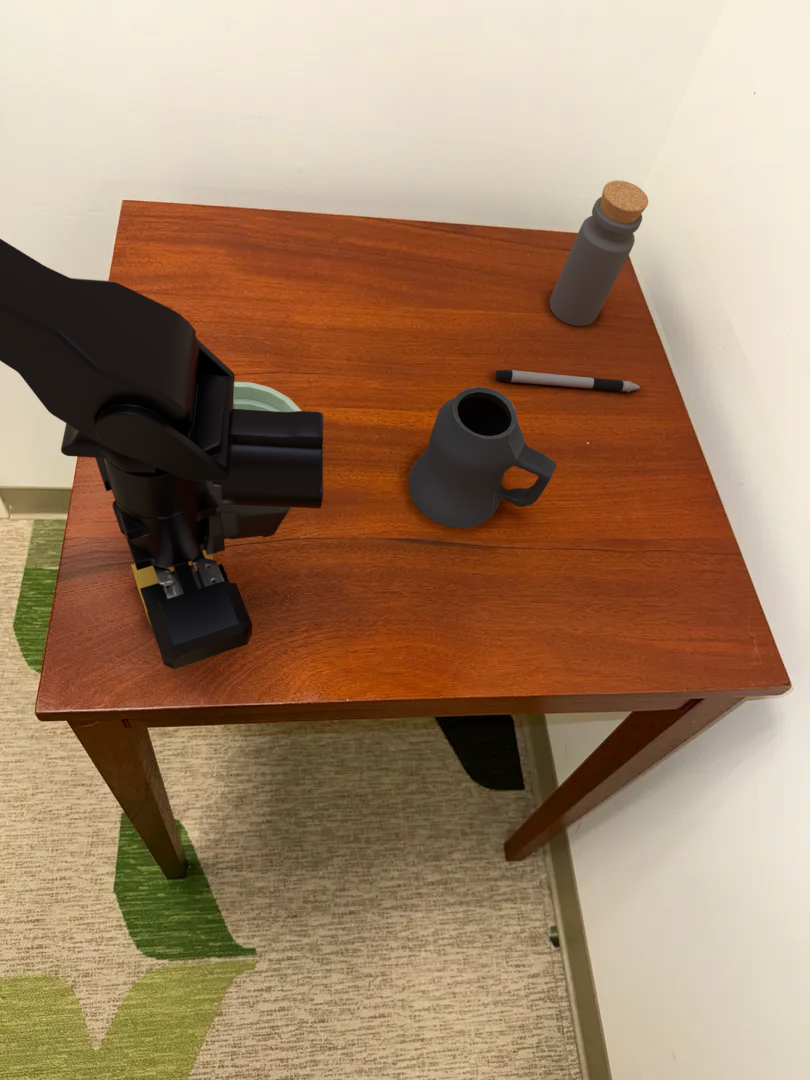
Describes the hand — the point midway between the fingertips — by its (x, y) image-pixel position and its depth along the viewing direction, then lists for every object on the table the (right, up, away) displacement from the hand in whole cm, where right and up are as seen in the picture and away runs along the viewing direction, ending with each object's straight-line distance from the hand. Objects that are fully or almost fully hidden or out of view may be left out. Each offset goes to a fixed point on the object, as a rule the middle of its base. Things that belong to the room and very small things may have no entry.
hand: (179, 589), depth 62 cm
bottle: (+38, +31, +27) cm, 56 cm away
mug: (+24, +8, +11) cm, 28 cm away
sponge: (0, -1, +1) cm, 1 cm away
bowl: (+3, +11, +8) cm, 14 cm away
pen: (+36, +21, +21) cm, 46 cm away
